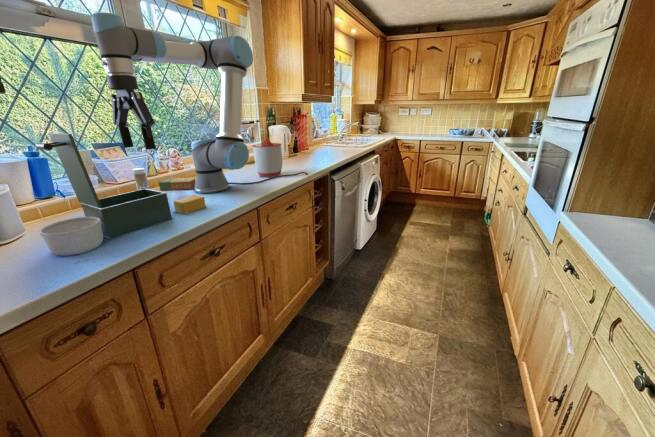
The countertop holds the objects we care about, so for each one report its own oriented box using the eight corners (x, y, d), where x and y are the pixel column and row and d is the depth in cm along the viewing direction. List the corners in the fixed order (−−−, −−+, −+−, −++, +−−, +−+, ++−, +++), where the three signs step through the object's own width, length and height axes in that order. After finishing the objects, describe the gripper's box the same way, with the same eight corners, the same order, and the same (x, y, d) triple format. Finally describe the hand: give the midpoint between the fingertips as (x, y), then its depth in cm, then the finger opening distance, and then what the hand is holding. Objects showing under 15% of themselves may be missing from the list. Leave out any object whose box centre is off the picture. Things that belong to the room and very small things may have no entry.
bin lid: (52, 133, 85) (26, 136, 81) (71, 133, 78) (44, 137, 74) (81, 201, 93) (60, 207, 89) (101, 207, 86) (79, 214, 82)
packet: (196, 204, 120) (194, 195, 119) (205, 206, 117) (204, 196, 116) (175, 211, 113) (173, 201, 112) (184, 213, 110) (182, 203, 109)
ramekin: (113, 245, 85) (106, 222, 83) (52, 263, 76) (42, 238, 73) (100, 234, 93) (94, 213, 91) (44, 249, 84) (35, 226, 82)
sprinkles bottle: (147, 201, 127) (139, 169, 123) (137, 201, 128) (129, 169, 123) (154, 198, 132) (146, 167, 127) (144, 198, 132) (136, 167, 127)
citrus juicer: (268, 171, 181) (264, 137, 174) (289, 174, 171) (286, 137, 164) (247, 176, 169) (243, 139, 162) (269, 179, 159) (266, 140, 152)
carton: (192, 189, 144) (190, 180, 143) (159, 190, 145) (157, 181, 143) (199, 185, 152) (198, 176, 151) (168, 186, 153) (166, 177, 151)
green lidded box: (151, 213, 112) (145, 188, 109) (172, 218, 105) (166, 192, 102) (90, 231, 96) (80, 203, 93) (110, 239, 90) (100, 209, 86)
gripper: (88, 78, 93) (108, 148, 101) (129, 70, 80) (148, 151, 88) (114, 79, 99) (131, 145, 106) (156, 72, 86) (172, 148, 94)
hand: (139, 148), depth 97 cm, fingers open, 13 cm apart
